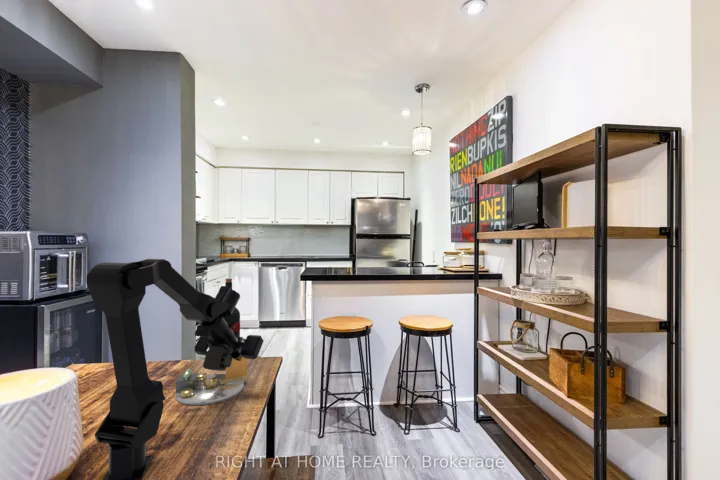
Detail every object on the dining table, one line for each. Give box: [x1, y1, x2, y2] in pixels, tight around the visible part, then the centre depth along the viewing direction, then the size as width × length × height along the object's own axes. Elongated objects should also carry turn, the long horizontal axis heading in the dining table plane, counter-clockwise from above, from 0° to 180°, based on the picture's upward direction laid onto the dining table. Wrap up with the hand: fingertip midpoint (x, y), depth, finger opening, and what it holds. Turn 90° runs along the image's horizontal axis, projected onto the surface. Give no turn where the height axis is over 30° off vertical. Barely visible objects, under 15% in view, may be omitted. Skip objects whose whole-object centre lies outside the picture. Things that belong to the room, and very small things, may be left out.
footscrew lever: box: [204, 357, 248, 388], centre depth 98 cm, size 12×4×10 cm, turn 121°
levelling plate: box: [174, 368, 245, 407], centre depth 95 cm, size 18×18×6 cm
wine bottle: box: [223, 278, 241, 337], centre depth 114 cm, size 8×10×30 cm
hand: (240, 359), depth 99 cm, fingers closed
